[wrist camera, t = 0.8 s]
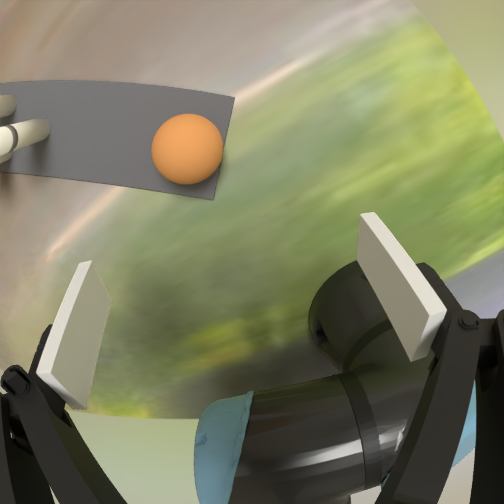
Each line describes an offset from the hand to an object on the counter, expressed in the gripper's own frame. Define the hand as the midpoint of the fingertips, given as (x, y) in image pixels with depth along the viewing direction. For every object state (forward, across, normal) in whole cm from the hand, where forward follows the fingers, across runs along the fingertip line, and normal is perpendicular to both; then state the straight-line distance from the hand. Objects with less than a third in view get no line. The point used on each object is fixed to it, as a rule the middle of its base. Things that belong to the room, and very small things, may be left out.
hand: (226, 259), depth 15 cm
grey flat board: (+18, +12, -5) cm, 22 cm away
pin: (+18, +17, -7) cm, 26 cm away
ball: (+14, +2, -2) cm, 14 cm away
